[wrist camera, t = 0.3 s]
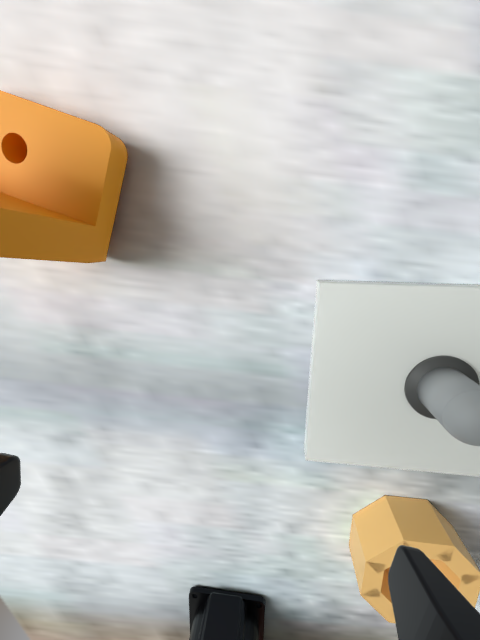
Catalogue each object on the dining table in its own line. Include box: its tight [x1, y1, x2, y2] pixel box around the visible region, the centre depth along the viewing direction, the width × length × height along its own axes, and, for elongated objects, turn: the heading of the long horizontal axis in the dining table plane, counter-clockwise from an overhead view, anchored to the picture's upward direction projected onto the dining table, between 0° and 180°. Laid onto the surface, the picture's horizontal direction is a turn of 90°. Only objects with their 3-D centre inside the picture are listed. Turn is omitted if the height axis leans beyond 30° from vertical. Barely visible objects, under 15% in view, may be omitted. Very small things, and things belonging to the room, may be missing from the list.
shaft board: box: [304, 280, 480, 477], centre depth 17 cm, size 12×15×6 cm
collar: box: [349, 495, 480, 623], centre depth 21 cm, size 7×7×4 cm
